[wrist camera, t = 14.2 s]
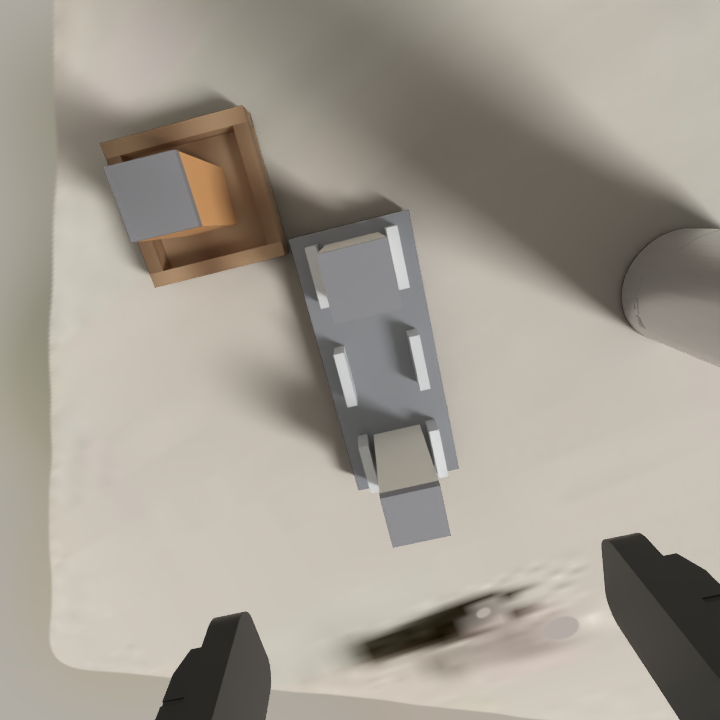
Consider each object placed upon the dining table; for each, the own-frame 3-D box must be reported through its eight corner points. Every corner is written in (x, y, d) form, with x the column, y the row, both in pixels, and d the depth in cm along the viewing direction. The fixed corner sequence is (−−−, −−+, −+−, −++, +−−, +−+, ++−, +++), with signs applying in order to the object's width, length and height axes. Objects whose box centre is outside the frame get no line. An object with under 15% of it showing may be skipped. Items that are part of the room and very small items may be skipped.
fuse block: (405, 210, 34) (429, 206, 24) (453, 456, 41) (489, 539, 30) (291, 238, 35) (266, 247, 24) (358, 477, 41) (360, 566, 31)
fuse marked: (221, 167, 32) (174, 149, 24) (238, 224, 33) (199, 226, 25) (168, 180, 32) (103, 167, 24) (187, 236, 34) (131, 242, 25)
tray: (250, 113, 32) (241, 105, 29) (289, 252, 35) (284, 255, 32) (118, 148, 32) (100, 143, 30) (168, 282, 35) (155, 287, 33)
